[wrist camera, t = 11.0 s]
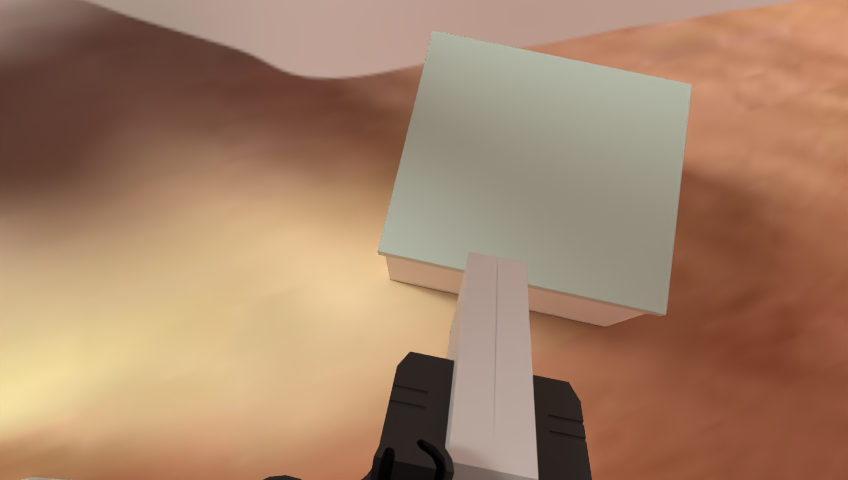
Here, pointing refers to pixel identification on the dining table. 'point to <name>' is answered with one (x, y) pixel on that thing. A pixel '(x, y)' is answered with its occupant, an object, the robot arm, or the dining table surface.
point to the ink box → (41, 479)
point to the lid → (542, 171)
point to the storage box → (536, 298)
